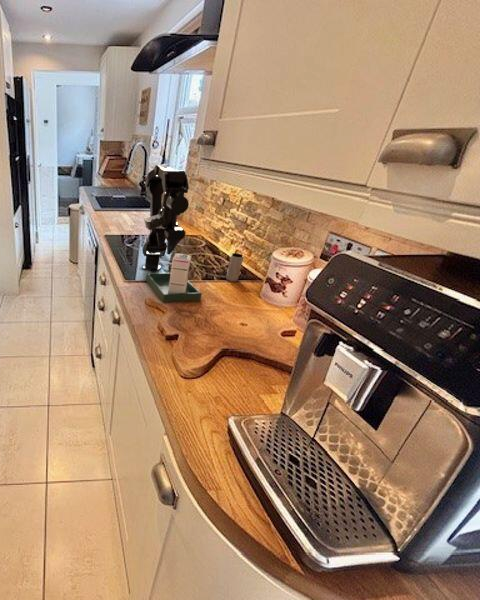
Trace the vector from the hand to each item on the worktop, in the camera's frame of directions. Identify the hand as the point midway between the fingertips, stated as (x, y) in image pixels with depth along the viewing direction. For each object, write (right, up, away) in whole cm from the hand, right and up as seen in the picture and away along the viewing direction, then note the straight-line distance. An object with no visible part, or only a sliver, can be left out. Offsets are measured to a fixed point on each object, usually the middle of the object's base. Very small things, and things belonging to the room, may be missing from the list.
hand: (164, 250), depth 122 cm
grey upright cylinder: (+30, -10, +10) cm, 33 cm away
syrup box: (+3, -17, -5) cm, 18 cm away
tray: (+2, -15, -1) cm, 15 cm away
